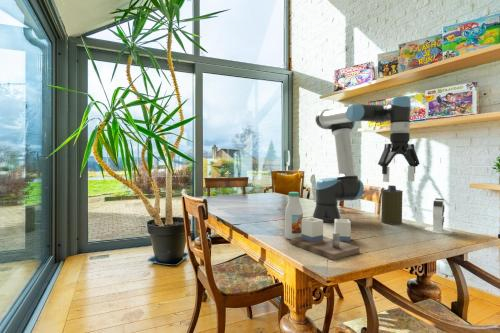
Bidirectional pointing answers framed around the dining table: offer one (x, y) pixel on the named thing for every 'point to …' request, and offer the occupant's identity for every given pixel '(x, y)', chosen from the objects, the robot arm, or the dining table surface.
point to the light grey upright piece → (438, 218)
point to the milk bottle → (293, 217)
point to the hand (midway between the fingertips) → (398, 181)
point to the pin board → (327, 247)
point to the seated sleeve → (312, 229)
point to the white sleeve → (343, 229)
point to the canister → (391, 206)
